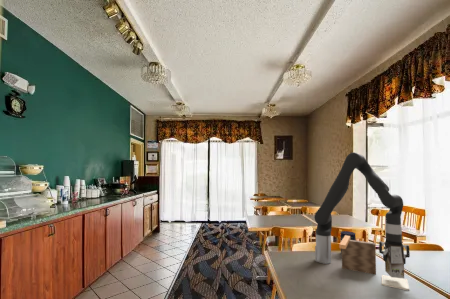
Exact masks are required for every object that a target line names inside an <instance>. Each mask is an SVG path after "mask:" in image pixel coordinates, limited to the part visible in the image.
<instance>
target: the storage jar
mask: <svg viewBox="0 0 450 299" xmlns="http://www.w3.org/2000/svg"><path fill="white" fill-rule="evenodd" d="M345 235H346V236H350V240H355V241H357V240H356V238H357V237H356V233H355V232H353V231H349V230H343V231H342V230H341V231H340V242H341V241H342V239H343V238H344V236H345ZM340 255H342V249H341V248H340Z"/></svg>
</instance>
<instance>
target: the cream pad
mask: <svg viewBox="0 0 450 299" xmlns="http://www.w3.org/2000/svg"><path fill="white" fill-rule="evenodd" d="M409 285H410V284H409V281H408V279H407V278H404V279H403V278H394V277H391V276H390V275H385V274H381V286H385V287H389V288H394V289H400V290H403V291H408V290H409V291H410V286H409Z"/></svg>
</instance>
